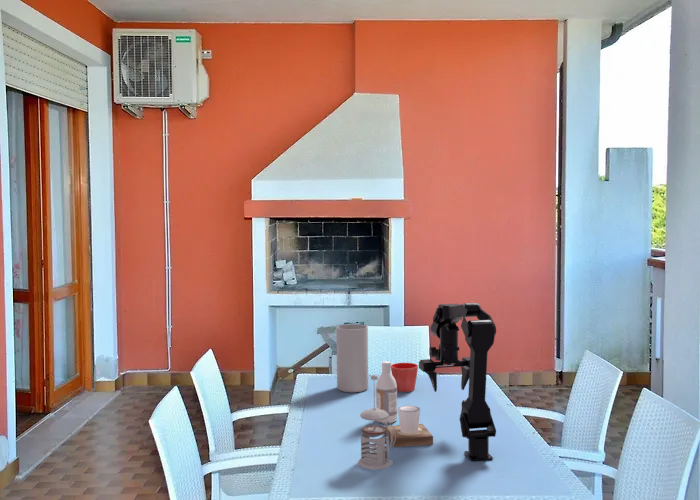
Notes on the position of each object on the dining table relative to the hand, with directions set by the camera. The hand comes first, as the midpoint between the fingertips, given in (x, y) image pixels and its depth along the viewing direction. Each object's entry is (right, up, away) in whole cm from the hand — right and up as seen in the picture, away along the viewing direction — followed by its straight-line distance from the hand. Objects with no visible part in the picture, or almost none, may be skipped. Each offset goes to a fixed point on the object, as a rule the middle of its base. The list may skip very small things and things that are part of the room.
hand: (449, 390), depth 212 cm
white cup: (-14, -11, -8) cm, 19 cm away
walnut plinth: (-14, -13, -8) cm, 21 cm away
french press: (-24, -15, -27) cm, 39 cm away
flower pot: (-10, -10, +49) cm, 51 cm away
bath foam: (-19, -13, +11) cm, 25 cm away
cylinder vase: (-31, -10, +51) cm, 61 cm away
